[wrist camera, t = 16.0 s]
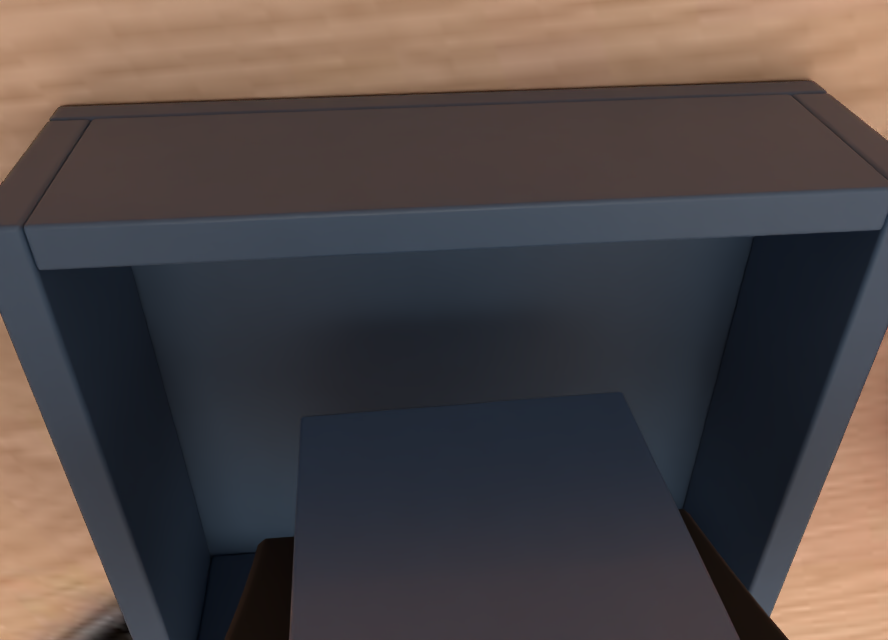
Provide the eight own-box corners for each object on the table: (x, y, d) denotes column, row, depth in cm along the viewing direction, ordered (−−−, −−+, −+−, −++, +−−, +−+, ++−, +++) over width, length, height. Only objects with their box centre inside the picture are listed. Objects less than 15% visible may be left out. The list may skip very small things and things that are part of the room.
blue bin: (191, 554, 18) (160, 713, 15) (57, 104, 12) (-37, 228, 9) (693, 518, 18) (753, 661, 16) (814, 78, 12) (948, 185, 10)
